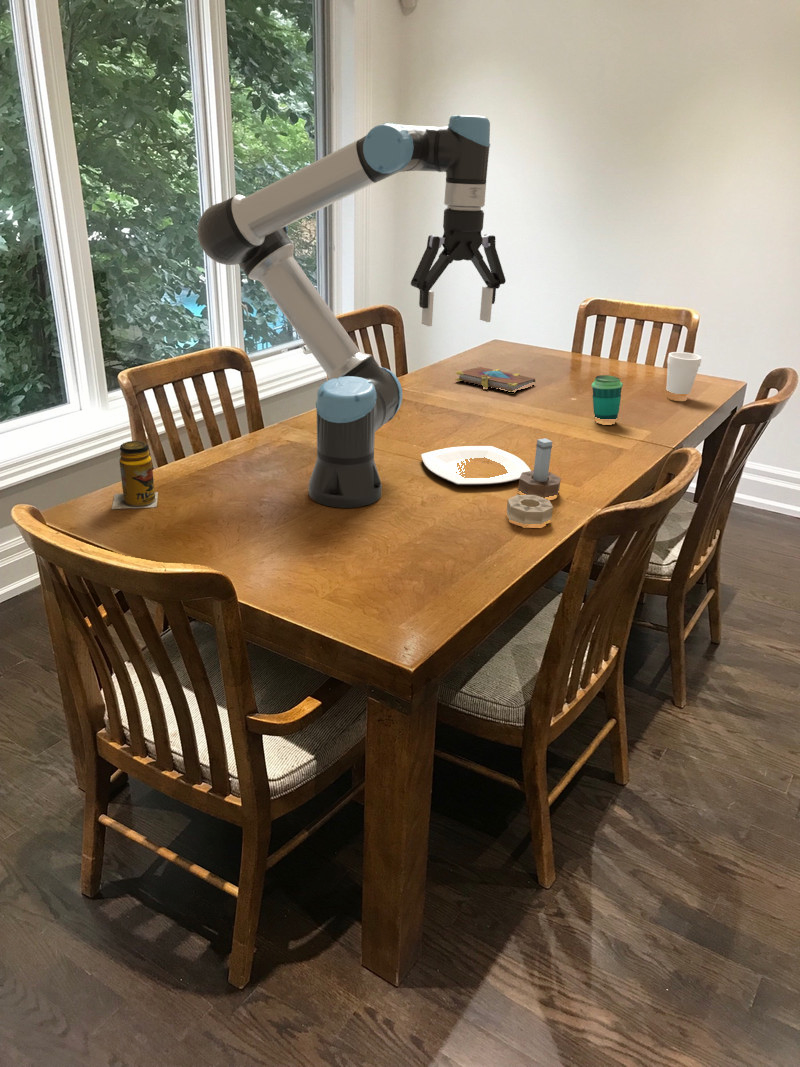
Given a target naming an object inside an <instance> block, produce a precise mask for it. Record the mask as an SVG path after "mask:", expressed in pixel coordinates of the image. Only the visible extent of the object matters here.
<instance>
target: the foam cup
mask: <svg viewBox="0 0 800 1067" xmlns="http://www.w3.org/2000/svg"><path fill="white" fill-rule="evenodd" d="M666 363H667V370H666V371H667V372H666V390H667V391H669V392H671V393H675V394H689V393H690V394H691V391H692V389H693V385H694V384H695V380H696V377H697V374H698V372H699V368H700V367H701V363H702V356H701V355H699V354H696V353H692V352H685V351H672V352H669V353H668V356H667V362H666ZM666 390H665V391H666Z"/></svg>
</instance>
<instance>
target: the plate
mask: <svg viewBox="0 0 800 1067" xmlns="http://www.w3.org/2000/svg"><path fill="white" fill-rule="evenodd" d="M420 456H421V459H422V462H423V464H424V466H425V467H426V468H427V469H428V471H430V472H431V473H433V474H434V475H436V476H438V477H439V478H441V479H444V480H446V481H448V482H450V483H453V484H455V485H457V486H482V485H484V486H485V485H497V484H504V483H510V482H513V481H517V480H518V481H519V478H520V476H521V474H522V472H528V471H532V470H531V468H530V467H529V465H527V464H526V462H525V461H524V460H522V459H521V458H520V457H518V456H516V455H515V454H513V453H510V452H508V451H505V450H503V449H500V448H497V447H495V446H493V445H468V446H467V445H466V446H465V445H463V446H461V445H460V446H452V447H445V448H441V449H435V450H431V451H427V452H424V453H421V454H420ZM484 457H485V458H487V459H490V460H492V461H495V462H497V463H500V464H501V465H503V466H504V467H505V469H506V470H507V472H508V473H506V474H503V475H499V476H495V477H490V478H464V477H465V476H464V477H462V476H461V475H462V474H461V475H459V474H460V473H461V472H462V471H463V472H464V471H465V469H464V470H463V468H464V465H463V466H462V468H461V469H462V471H461V472H459V471H460V469H459V470H458V468H459V466H458V467H457V463H459V465H460V467H461V465H462V464H461V461H462V462H463V461H464V462H463V463H465V465H466V461H465V459H468V461H469V462H470V460H469V459H470V458H472V459H474V458H484ZM456 472H457V473H456ZM463 474H465V473H463Z"/></svg>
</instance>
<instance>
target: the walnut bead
mask: <svg viewBox="0 0 800 1067" xmlns="http://www.w3.org/2000/svg"><path fill="white" fill-rule="evenodd" d="M533 472H534V470H531V471H528V472H522V474H521V476H520V478H519V480H518V487H517V488H518V489H517V491H518V490H519V491H521V492H522V493H524V494H526V495H536V496H539V497H543V498H545V497H549V496H554V495H557V494H558V491H559V492H560V488H561V480H562V478H561V477H560V476H558V475H557V474H554V473H552V472H551V471H550V472H548V480H547V481H543V482H542V481H535V480H533ZM558 495H559V494H558Z"/></svg>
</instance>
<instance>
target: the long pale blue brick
mask: <svg viewBox="0 0 800 1067" xmlns="http://www.w3.org/2000/svg"><path fill="white" fill-rule="evenodd" d="M535 447H536V449H535V457H534V464H533V471H534V472H533V480H535V481H542V482H543V481H547V480H548V472H549V471H550V463H551V456H552V454H551V453H552V449H553V441H552V440H550V439H548V438H540V439H539V438H538V439H536V444H535Z"/></svg>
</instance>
